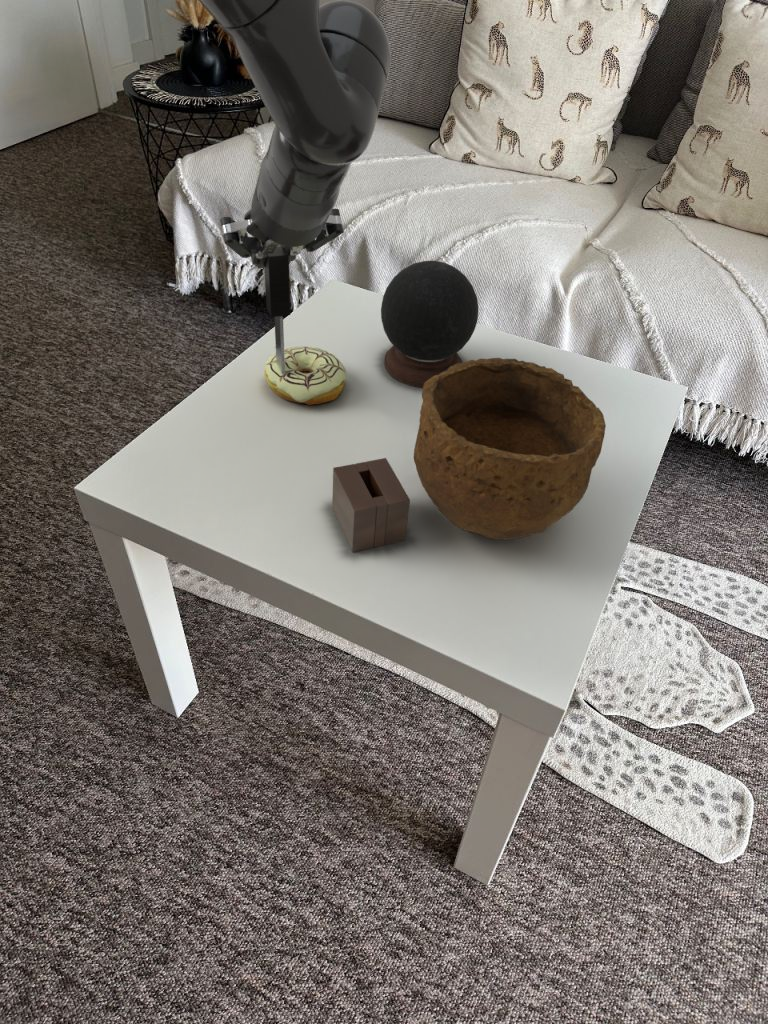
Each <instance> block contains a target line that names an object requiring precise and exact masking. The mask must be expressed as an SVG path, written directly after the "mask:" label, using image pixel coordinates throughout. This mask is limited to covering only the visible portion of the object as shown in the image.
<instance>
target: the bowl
mask: <svg viewBox="0 0 768 1024" xmlns="http://www.w3.org/2000/svg"><path fill="white" fill-rule="evenodd" d="M421 398H422V404H421V406H420V411H419V414H420V417H419V426H418V429H417V430H418V431H417V436H416V439H415V444H414V449H413V459H414V465H415V469H416V472H417V475H418V477H419V480H420V483H421V486H422V487H423V490H424V491H425V492H426V494H427V496H428V498H429V499H430V501H431V502H432V503H433V504H434V506H435V507H436V509H438V511H439V512H440V513H441V514H442V515H443V516H444V517H445V518H446V519H447V520H448V521H450V522H451V523H452V524H453V525H454V526H456V527H457V528H458V529H461V530H463V531H468V532H471V533H474V534H478V535H480V536H483V537H486V538H489V539H492V540H514V539H518V538H524V537H528V536H532V535H536V534H540V533H543V532H545V531H546V530H547V529H549V528H550V527H552V525H553V524H555V523H557V522H558V521H559V520H560V519H562V518H564V517H565V516H566V515H568V514H570V512H571V511H573V509H574V508H575V507H576V506H577V505H579V503H580V502H581V500H582V499H583V498H584V495H585V494H586V492H587V490H588V487H589V484H590V481H591V475H592V470H593V468H594V467H595V466H596V464H597V461H598V459H599V457H600V455H601V453H602V448H603V444H604V440H605V435H606V427H607V423H606V420H605V417H604V414H603V412H602V410H601V409H600V407H597V406H596V404H595V403H594V401H592V400H591V399H590V398H589V397H587V395H586V394H585V393H584V391H583V390H582V389H581V388H580V387H579V386H577V385H574V384H573V380H572V379H568V378H565V374H563V373H561V372H558V371H556V370H555V369H553V368H551V367H546V366H545V365H539V364H537V363H535V362H530V361H524V360H518V359H516V358H502V357H492V358H491V357H490V358H478V359H476V360H475V359H469V360H467V361H465V362H462V363H457V364H455V365H453V366H450V367H449V368H448V370H447V371H444V372H442V373H440V374H439V375H435V376H433V377H431V378H430V379H429V380H427V381H426V382H425V383H424V386H423V388H422V391H421Z"/></svg>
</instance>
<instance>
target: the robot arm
mask: <svg viewBox="0 0 768 1024" xmlns="http://www.w3.org/2000/svg"><path fill="white" fill-rule="evenodd" d="M198 2H199V3H200V4H201V5H202V7H203V8H204V9H205V10H206V11H207V12H208V13H209V15H210V16H211V17H212V18H213V19H214V21H216V23H217V24H218V25H219V26H220V27H221V29H222V30H223V31H224V32H225V33H226V34H227V36H229V38H230V39H231V41H232V42H233V44H234V46H235V49H236V51H237V53H238V55H239V57H240V60H241V62H242V64H243V65H244V69H245V70H246V73H247V74H248V76H249V78H250V80H251V82H252V84H253V85H254V87H255V89H256V91H257V93H258V96H259V97H260V100H261V101H262V103H263V105H264V107H265V108H266V111H267V113H268V115H269V117H270V118H271V119H272V121H273V123H274V128H273V130H272V134H271V137H270V140H269V144H268V149H267V151H266V152H265V155H264V156H263V159H262V162H261V163H260V169H259V173H258V176H257V180H256V184H255V187H254V192H253V196H252V200H251V206H250V209H249V210H248V211H247V212H246V213H245V214H244V216H243V219H242V220H239V219H234V218H232V217H231V216H224V217H223V216H222V217H221V218H220V219H219V222H220V227H221V232H222V236H223V240H224V244H225V245H226V246H227V247H229V248H230V249H231V250H232V251H233V252H234V253H236V254H237V255H238V256H239V257H241V258H243V259H249V258H251V264H252V266H256V267H257V270H258V269H259V270H260V269H264V266H265V263H266V260H267V255H268V253H273V252H274V250H275V249H276V247H284V249H285V250H286V252H287V253H288V255H289V265H290V264H291V262H293V261H295V260H296V258H297V256H299V255H300V254H302V251H303V250H306V252H307V253H313V252H316V251H317V250H318V249H320V248H322V247H323V246H325V245H326V244H328V243H330V242H332V241H333V240H334V239H336V238H338V237H339V236H341V235H342V234H344V227H343V222H342V217H341V212H340V209H339V208H334V207H335V205H336V203H337V201H338V198H339V195H340V192H341V187H342V185H343V183H344V181H345V179H346V177H347V175H348V173H349V170H350V168H351V165H352V162H355V161H356V160H357V159H359V158H360V157H361V156H362V155H363V154H364V153H365V151H366V150H367V149H368V147H369V144H370V142H371V140H372V138H373V135H374V132H375V128H376V124H377V120H378V117H379V112H380V109H381V104H382V101H383V97H384V93H385V89H386V86H387V83H388V78H389V74H390V70H391V64H392V50H391V49H392V48H391V44H390V40H389V36H388V33H387V31H386V29H385V27H384V25H383V24H382V22H381V20H380V19H379V18H378V16H377V15H376V14H375V13H374V12H372V11H371V10H370V9H369V8H367V7H366V6H365V5H363V4H361V3H359V2H356V1H354V0H353V1H352V0H331V1H328V2H325V3H323V4H321V5H320V0H198ZM249 235H250V236H249Z"/></svg>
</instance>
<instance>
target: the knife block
mask: <svg viewBox="0 0 768 1024" xmlns="http://www.w3.org/2000/svg"><path fill="white" fill-rule="evenodd" d="M332 472H333V473H332V503H331V504H332V505H331V506H332V507H331V508H332V512H333V513H334V515H335V518H336V519H337V522H338V524H339V527H340V528H341V531H342V533H343V535H344V538H345V540H346V542H347V544H348V546H349V548H350V551H351V553H356V552H361V551H364V550H369V549H373V548H378V547H382V546H383V547H384V546H386V545H387V546H388V545H392V544H395V543H401V542H404V541H406V535H407V528H408V518H409V511H410V504H411V503H410V502H411V499H410V497H409V495H408V494H407V492H406V490H405V488H404V487H403V485H402V483H401V481H400V480H399V478H398V476H397V475H396V473H395V471H394V470H393V468H392V466H391V464H390V462H389V460H388V459H387V458H386V457H383V458H378V459H373V460H367V461H363V462H357V463H351V464H347V465H340V466H336V467H333V468H332Z"/></svg>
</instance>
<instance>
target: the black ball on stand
mask: <svg viewBox="0 0 768 1024" xmlns="http://www.w3.org/2000/svg"><path fill="white" fill-rule="evenodd" d="M383 293H384V294H383V295H382V301H381V307H380V318H381V319H380V320H381V324H382V328H383V331H384V333H385V335H386V337H387V339H388V340H389V342H390V344H391V345H392V346H391V347H390V348H389V349H388V350H387V351H386V352H385V354H384V361H383V365H384V369H385V371H386V373H387V374H389V376H390V377H392V378H393V379H394V380H396V381H398V382H400V383H402V384H403V385H408V386H411V387H416V388H422V389H423V386H424V383H425V382H426V381H427V380H429V379H430V378H431V377H433V376H435V375H439V374H440V373H442V372H444V371H447V370H448V368H449V367H450V366H453V365H455V364H457V363H463V361H462V358H461V357H460V356H459V352H460V351H461V350H462V349H463V348H464V347H465V346H466V345H467V344H468V342H469V341H470V340H471V338H472V336H473V334H474V332H475V330H476V328H477V324H478V320H479V301H478V297H477V293H476V291H475V289H474V286H473V285H472V283H471V282H470V280H469V279H468V278H467V276H466V275H465V274H464V273H463V272H462V271H460V270H459V269H458V268H456V267H455V266H454V265H451V264H449V263H446V262H442V261H439V260H423V261H419V262H414V263H412V264H410V265H408V266H406V267H404V268H403V269H402V270H400V271H399V272H398V273H397V274H396V275H395V276H394V277H393V278H392V279H391V281H390V282H389V284H388V285H387V286H386V289H385V291H384V292H383Z"/></svg>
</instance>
